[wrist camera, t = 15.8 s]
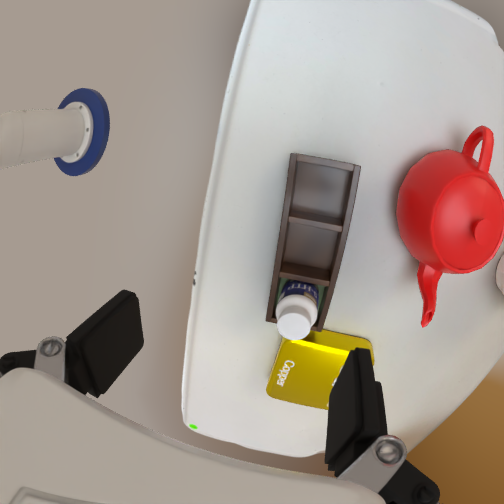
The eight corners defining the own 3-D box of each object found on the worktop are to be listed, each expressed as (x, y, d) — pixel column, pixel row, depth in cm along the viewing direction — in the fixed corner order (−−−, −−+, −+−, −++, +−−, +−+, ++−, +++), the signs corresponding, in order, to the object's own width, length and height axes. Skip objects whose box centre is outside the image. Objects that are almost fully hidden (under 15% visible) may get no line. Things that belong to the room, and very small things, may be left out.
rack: (270, 306, 42) (265, 321, 38) (293, 153, 33) (290, 153, 29) (321, 317, 40) (321, 332, 37) (356, 164, 31) (361, 166, 28)
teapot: (414, 104, 26) (454, 86, 15) (498, 152, 24) (550, 160, 13) (359, 275, 36) (371, 326, 25) (443, 303, 34) (471, 352, 23)
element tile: (288, 319, 42) (284, 338, 37) (375, 340, 39) (379, 359, 35) (268, 379, 48) (262, 398, 43) (342, 396, 45) (341, 415, 41)
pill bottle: (323, 280, 37) (322, 315, 29) (313, 310, 39) (309, 349, 31) (286, 270, 38) (276, 303, 30) (278, 301, 40) (267, 338, 32)
